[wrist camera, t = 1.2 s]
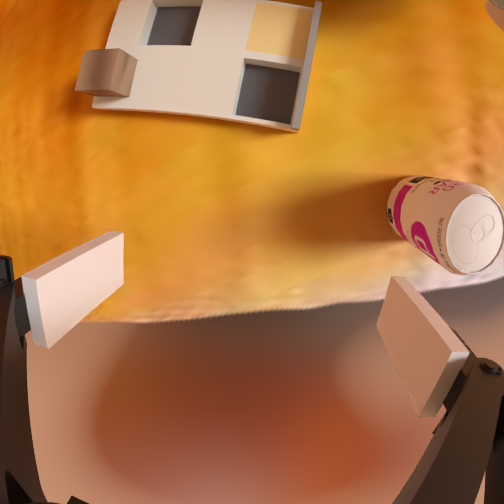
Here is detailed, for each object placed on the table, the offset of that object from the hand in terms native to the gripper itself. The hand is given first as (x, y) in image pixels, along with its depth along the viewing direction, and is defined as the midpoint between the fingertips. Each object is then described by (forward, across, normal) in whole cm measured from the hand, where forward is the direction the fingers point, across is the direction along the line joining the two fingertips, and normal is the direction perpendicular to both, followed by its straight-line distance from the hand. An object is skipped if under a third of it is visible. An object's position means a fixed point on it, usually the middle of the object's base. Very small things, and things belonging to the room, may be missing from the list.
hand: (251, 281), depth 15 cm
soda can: (+24, +18, +3) cm, 30 cm away
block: (+22, -21, +14) cm, 33 cm away
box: (+24, -11, +18) cm, 32 cm away
